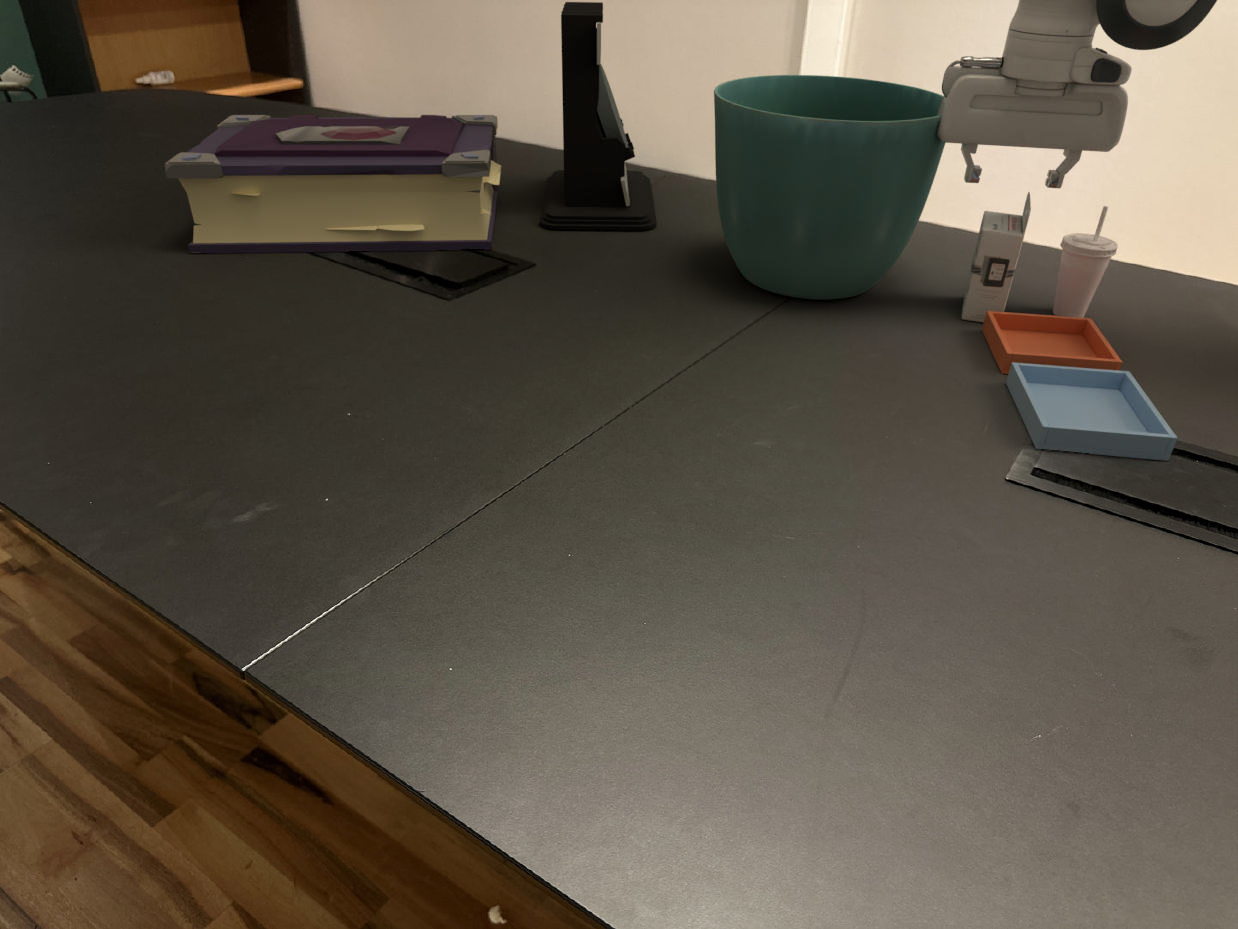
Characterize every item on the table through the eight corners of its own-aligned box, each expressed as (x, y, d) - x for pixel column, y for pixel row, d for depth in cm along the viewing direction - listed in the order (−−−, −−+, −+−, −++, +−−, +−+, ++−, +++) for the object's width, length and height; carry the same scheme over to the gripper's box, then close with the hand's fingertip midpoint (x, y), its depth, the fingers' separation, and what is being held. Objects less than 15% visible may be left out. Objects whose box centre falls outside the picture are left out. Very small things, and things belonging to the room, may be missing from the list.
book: (247, 190, 158) (230, 105, 150) (504, 188, 161) (500, 105, 154) (185, 254, 130) (160, 155, 122) (499, 250, 133) (493, 153, 126)
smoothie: (1097, 327, 113) (1133, 216, 105) (1042, 319, 115) (1074, 210, 107) (1092, 308, 118) (1126, 201, 110) (1040, 301, 120) (1070, 196, 112)
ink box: (962, 296, 121) (989, 185, 113) (1001, 301, 119) (1030, 190, 112) (960, 320, 114) (987, 204, 106) (1001, 326, 113) (1032, 209, 105)
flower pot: (908, 249, 136) (941, 79, 123) (930, 329, 112) (975, 126, 99) (711, 235, 141) (723, 69, 128) (690, 309, 116) (703, 112, 103)
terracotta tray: (1084, 337, 110) (1091, 318, 109) (1115, 383, 100) (1122, 361, 99) (981, 330, 112) (986, 310, 110) (1001, 374, 101) (1007, 353, 100)
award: (657, 231, 142) (665, 21, 126) (538, 230, 141) (531, 19, 125) (648, 179, 168) (654, -1, 151) (548, 178, 167) (543, -3, 151)
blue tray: (1121, 392, 98) (1129, 371, 97) (1168, 461, 86) (1177, 437, 85) (1005, 383, 99) (1011, 362, 98) (1035, 449, 88) (1043, 426, 86)
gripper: (952, 59, 99) (926, 185, 107) (1148, 68, 97) (1107, 197, 104) (943, 51, 104) (919, 172, 112) (1129, 59, 102) (1091, 182, 109)
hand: (1011, 184), depth 108 cm, fingers open, 8 cm apart
